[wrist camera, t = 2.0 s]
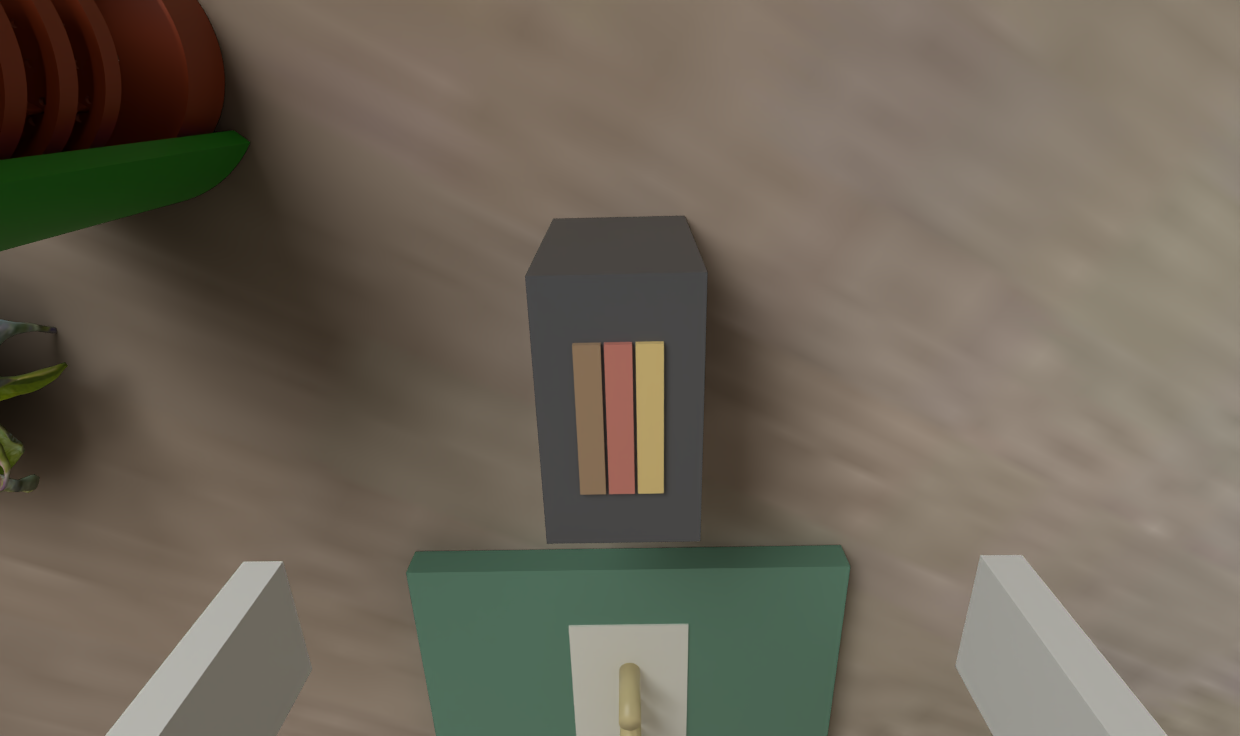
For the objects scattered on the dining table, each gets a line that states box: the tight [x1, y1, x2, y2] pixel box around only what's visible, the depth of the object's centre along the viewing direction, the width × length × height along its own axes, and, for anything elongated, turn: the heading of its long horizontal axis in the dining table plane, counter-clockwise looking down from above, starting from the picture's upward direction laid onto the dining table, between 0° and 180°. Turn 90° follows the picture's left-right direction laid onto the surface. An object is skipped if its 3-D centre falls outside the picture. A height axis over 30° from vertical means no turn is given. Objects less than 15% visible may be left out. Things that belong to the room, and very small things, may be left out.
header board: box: [406, 545, 850, 736], centre depth 33 cm, size 20×16×4 cm
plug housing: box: [525, 216, 707, 544], centre depth 24 cm, size 5×9×8 cm, turn 1°
